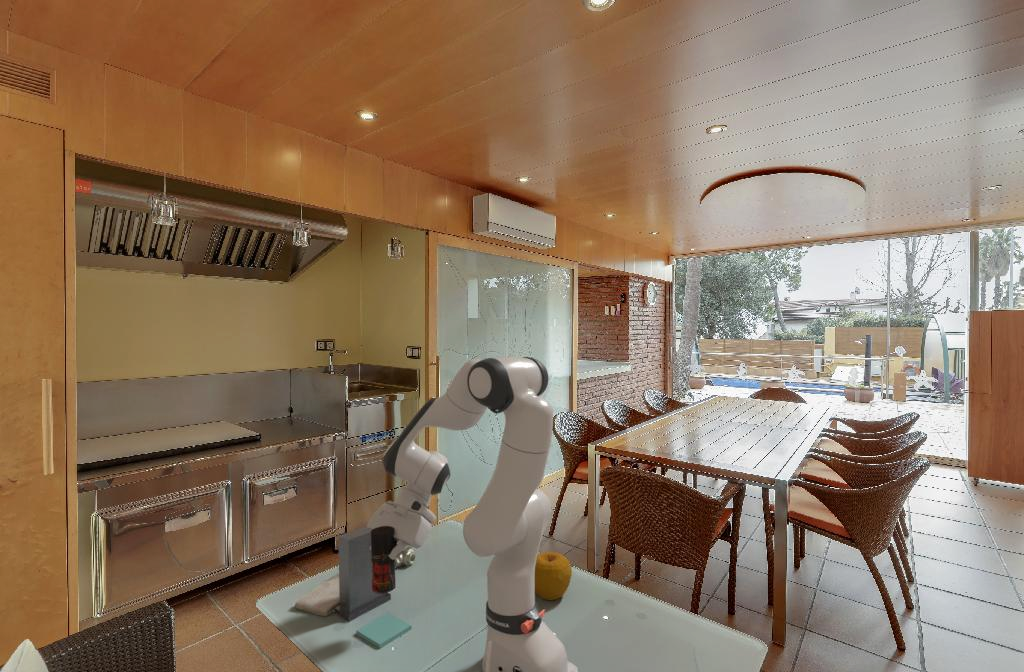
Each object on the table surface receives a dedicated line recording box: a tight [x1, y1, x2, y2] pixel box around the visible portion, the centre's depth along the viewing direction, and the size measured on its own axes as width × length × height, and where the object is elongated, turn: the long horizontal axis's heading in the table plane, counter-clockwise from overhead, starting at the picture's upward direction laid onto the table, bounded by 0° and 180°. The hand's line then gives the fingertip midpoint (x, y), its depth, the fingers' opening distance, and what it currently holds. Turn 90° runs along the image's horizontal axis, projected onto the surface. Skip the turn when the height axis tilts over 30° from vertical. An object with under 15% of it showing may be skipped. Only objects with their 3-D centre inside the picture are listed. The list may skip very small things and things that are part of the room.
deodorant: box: [371, 526, 396, 594], centre depth 126 cm, size 6×6×15 cm
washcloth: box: [294, 575, 340, 617], centre depth 143 cm, size 12×18×3 cm, turn 158°
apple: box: [535, 551, 573, 601], centre depth 142 cm, size 13×13×11 cm
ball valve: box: [395, 541, 416, 569], centre depth 164 cm, size 18×8×18 cm, turn 157°
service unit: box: [334, 525, 392, 623], centre depth 138 cm, size 7×14×22 cm, turn 142°
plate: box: [355, 612, 413, 649], centre depth 126 cm, size 10×10×1 cm
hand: (381, 554), depth 125 cm, fingers closed on deodorant, 6 cm apart
